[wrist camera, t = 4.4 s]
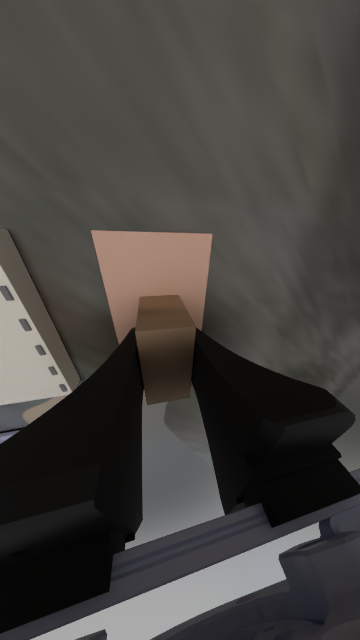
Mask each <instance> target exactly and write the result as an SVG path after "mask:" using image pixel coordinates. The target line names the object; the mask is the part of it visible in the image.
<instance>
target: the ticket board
mask: <svg viewBox="0 0 360 640" xmlns="http://www.w3.org/2000/svg"><path fill="white" fill-rule="evenodd" d="M79 381H80V378H79V376H78V373H77V371H76V369H75V367H74V365H73V363H72V361H71V359H70V357H69V355H68V353H67V351H66V349H65V347H64V345H63V343H62V341H61V339H60V336H59V334H58V332H57V330H56V328H55V326H54V324H53V322H52V320H51V318H50V316H49V314H48V312H47V310H46V308H45V306H44V304H43V302H42V300H41V297H40V295H39V293H38V291H37V289H36V287H35V285H34V283H33V281H32V279H31V277H30V275H29V273H28V271H27V269H26V267H25V265H24V263H23V260H22V258H21V256H20V254H19V252H18V250H17V248H16V246H15V244H14V242H13V240H12V238H11V236H10V234H9V232H8V230H7V229H0V405H5V404H12V403H18V402H25V401H31V400H38V399H44V398H51V397H57V396H64V395H69V394H70V393H71V392H73V391H74V390H75V389H76V387H77V385H78V383H79Z"/></svg>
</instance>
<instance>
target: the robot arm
mask: <svg viewBox="0 0 360 640" xmlns="http://www.w3.org/2000/svg"><path fill="white" fill-rule="evenodd" d="M135 329H136V327H135V328H131V330H130V331H129V332H128V334H127V335H126V337H125V338H124V340H123V341H122V342H121V343H120V345H119V346H118V347H117V349H116V350H115V351H114V352H113V353H112V354H111V356H110V357H109V358H108V359H107V360H106V361H105V362H104V363H103V364H102V365H101V366H100V367H99V368H98V369H97V370H96V371H95V372H94V373H93V374H92V375H91V376H90V377H89V378H88V379H87V380H86V381H84V382H83V383H82V384H81V385H80V386H78V387H77V388H76V389H75V390H74V391H73V392H71V393H70V394H69V395H68V396H67V397H65V398H64V399H63V400H61V401H60V402H59V403H57V404H56V405H55V406H54V407H52V408H51V409H50V410H48V411H47V412H45V413H44V414H43V415H41V416H40V417H39V418H37V419H36V420H34V421H33V422H32V423H30V424H29V425H27V426H26V427H25V428H23V429H22V430H18V431H12V432H7V433H1V434H0V640H30V639H32V638H35V637H37V636H40V635H42V634H45V633H47V632H50V631H52V630H54V629H57V628H59V627H62V626H64V625H66V624H69V623H72V622H74V621H76V620H79V619H81V618H84V617H86V616H89V615H91V614H94V613H96V612H99V611H101V610H104V609H106V608H108V607H111V606H113V605H116V604H118V603H121V602H123V601H126V600H128V599H131V598H133V597H135V596H138V595H140V594H143V593H145V592H148V591H150V590H153V589H155V588H158V587H160V586H162V585H165V584H167V583H170V582H172V581H175V580H177V579H180V578H182V577H185V576H187V575H189V574H192V573H194V572H197V571H199V570H202V569H204V568H207V567H209V566H212V565H214V564H217V563H219V562H221V561H224V560H226V559H229V558H231V557H234V556H236V555H239V554H241V553H244V552H246V551H248V550H251V549H253V548H255V547H258V546H261V545H263V544H265V543H268V542H271V541H273V540H275V539H278V538H280V537H283V536H285V535H288V534H290V533H293V532H295V531H297V530H300V529H302V528H305V527H307V526H310V525H312V524H314V523H317V522H319V529H320V534H321V536H320V538H318V539H314V540H311V541H308V542H304V543H302V544H299V545H297V546H294V547H292V548H290V549H289V550H287V551H285V552H283V553H281V554H279V561H280V564H281V566H282V568H283V571H284V573H285V576H286V578H287V579H286V580H283V581H281V582H278V583H276V584H273V585H270V586H268V587H265V588H263V589H261V590H258V591H256V592H253V593H251V594H248V595H245V596H243V597H240V598H238V599H235V600H233V601H230V602H228V603H225V604H223V605H220V606H218V607H216V608H214V609H211V610H209V611H207V612H205V613H202V614H200V615H198V616H196V617H194V618H191V619H189V620H187V621H185V622H183V623H181V624H179V625H177V626H175V627H173V628H171V629H169V630H167V631H166V632H164V633H162V634H160V635H158V636H156V637H154V638H152V639H151V640H360V469H357V470H354V471H351V472H348V470H346V468H345V467H344V466H343V465H342V464H341V462H340V461H339V460H338V459H339V458H341V454H340V452H339V451H338V450H337V449H336V448H335V447H334V446H333V445H332V443H333V442H334V441H335V440H336V439H337V438H339V437H340V436H341V435H342V434H343V433H345V432H346V431H347V430H348V429H349V428H350V427H351V426H352V425H353V424H354V422H355V415H354V414H353V413H352V412H351V411H350V410H349V409H348V408H347V407H345V406H344V405H343V404H342V403H341V402H340V401H338V400H337V399H336V398H335V397H334V396H333V395H332V394H330V393H329V392H328V391H327V390H325V389H323V388H320V387H317V386H314V385H311V384H308V383H304V382H301V381H298V380H295V379H292V378H289V377H287V376H284V375H282V374H279V373H276V372H274V371H271V370H269V369H266V368H264V367H262V366H259V365H257V364H255V363H253V362H251V361H249V360H247V359H245V358H243V357H241V356H239V355H237V354H235V353H233V352H232V351H230V350H228V349H226V348H225V347H223V346H222V345H220V344H219V343H217V342H216V341H214V340H213V339H211V338H210V337H209V336H207V335H206V334H205V333H203V332H202V331H201V330H199V329H198V328H197V327H196V332H195V343H194V355H193V366H192V378H191V382H192V384H193V387H194V390H195V393H196V396H197V399H198V403H199V407H200V411H201V415H202V419H203V423H204V427H205V431H206V435H207V439H208V444H209V448H210V452H211V457H212V461H213V466H214V470H215V475H216V479H217V484H218V489H219V494H220V499H221V502H222V506H223V510H224V513H225V516H222V517H219V518H216V519H213V520H211V521H207V522H205V523H202V524H199V525H196V526H193V527H190V528H187V529H184V530H181V531H179V532H176V533H173V534H170V535H167V536H164V537H161V538H158V539H156V540H153V541H150V542H147V543H144V544H141V545H138V546H135V547H133V548H130V549H127V550H125V543H127V542H130V541H133V540H135V533H136V532H137V530H138V528H139V526H140V524H141V522H142V520H143V518H142V517H143V515H142V400H143V389H144V383H143V377H142V371H141V365H140V359H139V353H138V347H137V341H136V335H135ZM106 639H107V633H106V631H105V629H104V630H101V631H98V632H96V633H93V634H90V635H87V636H84V637H81V638H78V639H76V640H106Z"/></svg>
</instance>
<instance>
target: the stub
mask: <svg viewBox="0 0 360 640" xmlns="http://www.w3.org/2000/svg"><path fill="white" fill-rule="evenodd" d="M91 233H92V237H93V241H94V245H95V249H96V253H97V257H98V261H99V265H100V270H101V274H102V278H103V282H104V286H105V290H106V294H107V298H108V302H109V306H110V311H111V315H112V319H113V323H114V327H115V331H116V335H117V339H118V343H119V345H120V343H121V342H122V341H123V340H124V338H125V337H126V335H127V334H128V332H129V331H130V330H131V328H135V327H136V329H135V335H136V341H137V347H138V353H139V359H140V365H141V371H142V377H143V383H144V390H145V396H146V402H147V405H150V404H156V403H161V402H167V401H172V400H178V399H183V398H189V397H190V389H191V378H192V366H193V355H194V343H195V332H196V327H197V328H198V329H199V330H201V331H202V323H203V314H204V305H205V296H206V287H207V278H208V269H209V260H210V251H211V242H212V234H197V233H162V232H128V231H93V230H91Z"/></svg>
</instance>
